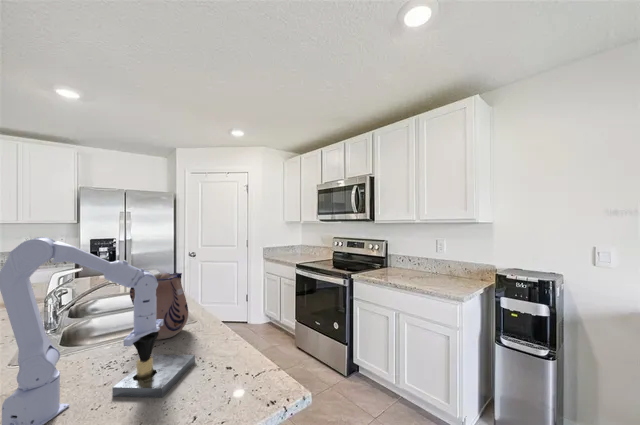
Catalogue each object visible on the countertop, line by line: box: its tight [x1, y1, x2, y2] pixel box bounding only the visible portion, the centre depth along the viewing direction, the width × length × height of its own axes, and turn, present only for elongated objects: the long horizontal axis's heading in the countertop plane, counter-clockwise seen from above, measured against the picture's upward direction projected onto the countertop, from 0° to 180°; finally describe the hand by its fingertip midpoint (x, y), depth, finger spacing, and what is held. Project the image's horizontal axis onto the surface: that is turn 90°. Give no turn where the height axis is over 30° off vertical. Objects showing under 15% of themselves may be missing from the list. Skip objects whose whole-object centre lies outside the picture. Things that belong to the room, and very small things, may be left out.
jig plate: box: [111, 353, 196, 398], centre depth 84 cm, size 18×14×2 cm
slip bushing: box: [136, 355, 153, 381], centre depth 81 cm, size 4×4×7 cm
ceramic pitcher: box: [129, 272, 189, 341], centre depth 113 cm, size 18×21×25 cm
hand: (145, 359), depth 81 cm, fingers closed, pressing on slip bushing
